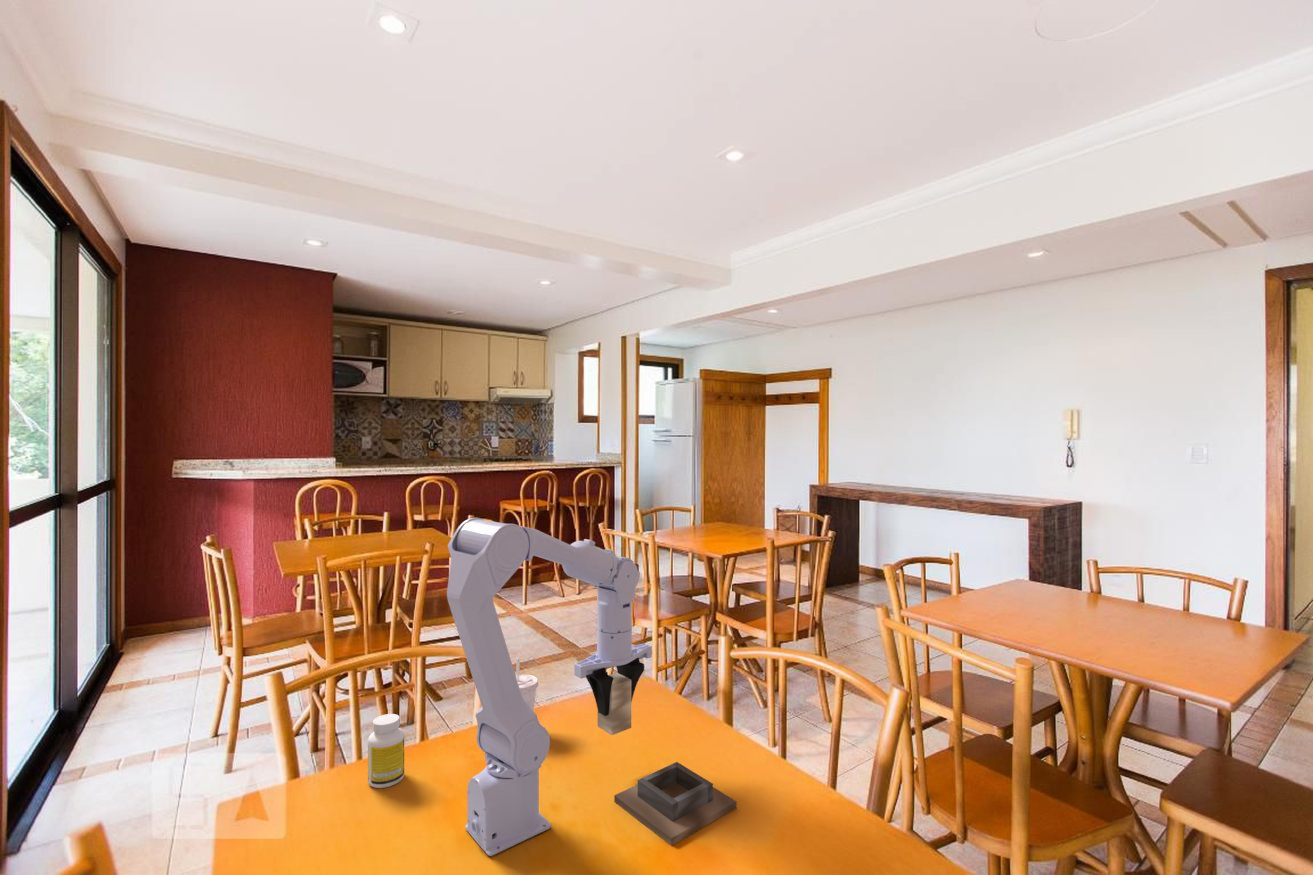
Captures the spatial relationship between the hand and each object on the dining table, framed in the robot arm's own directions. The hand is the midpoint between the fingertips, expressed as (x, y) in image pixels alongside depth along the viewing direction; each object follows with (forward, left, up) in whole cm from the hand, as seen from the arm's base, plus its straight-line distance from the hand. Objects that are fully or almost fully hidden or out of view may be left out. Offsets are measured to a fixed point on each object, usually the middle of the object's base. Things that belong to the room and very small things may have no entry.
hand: (614, 709), depth 104 cm
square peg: (0, 0, -3) cm, 3 cm away
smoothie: (-6, +21, -10) cm, 24 cm away
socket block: (+1, -14, -10) cm, 17 cm away
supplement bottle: (-30, +21, -10) cm, 38 cm away
